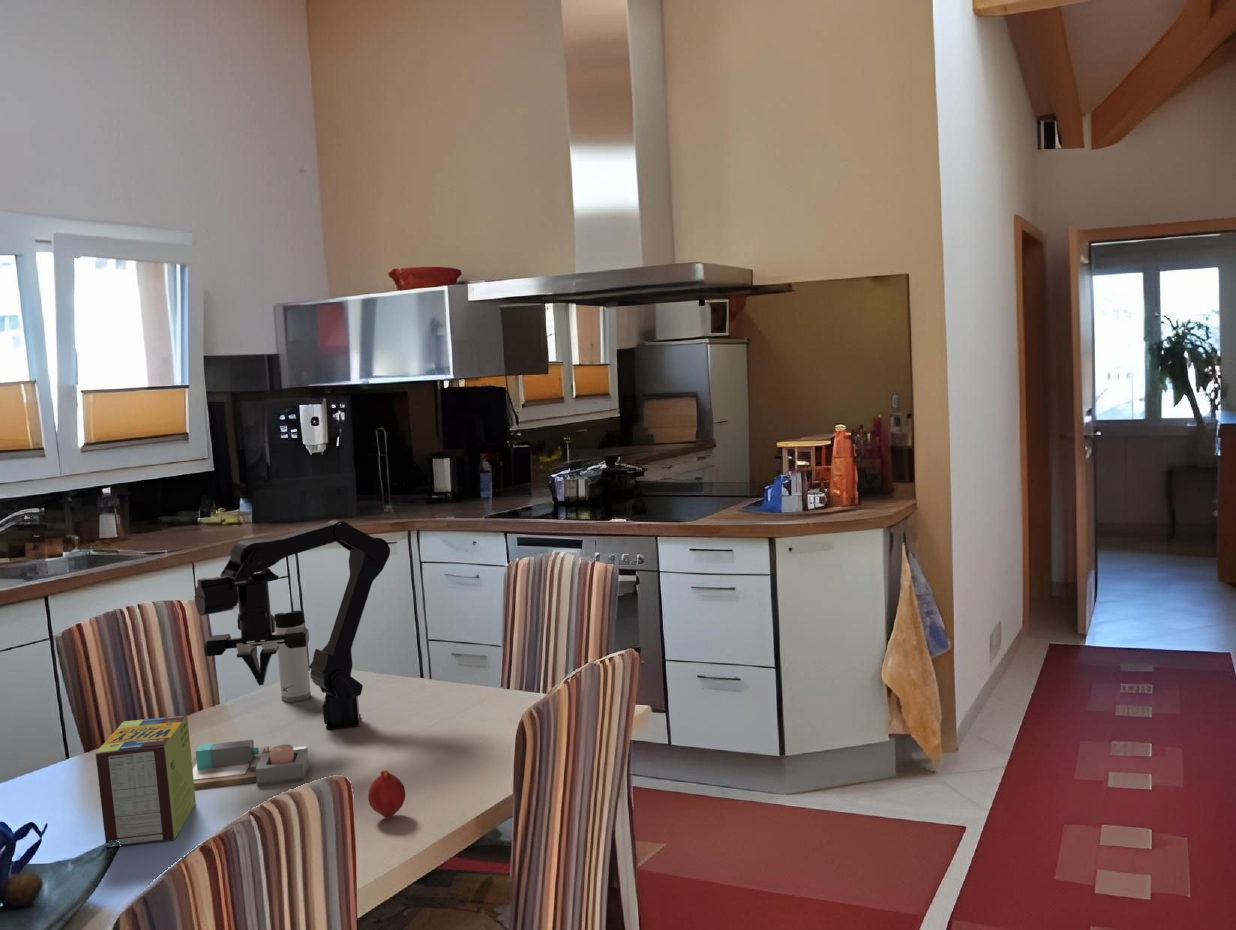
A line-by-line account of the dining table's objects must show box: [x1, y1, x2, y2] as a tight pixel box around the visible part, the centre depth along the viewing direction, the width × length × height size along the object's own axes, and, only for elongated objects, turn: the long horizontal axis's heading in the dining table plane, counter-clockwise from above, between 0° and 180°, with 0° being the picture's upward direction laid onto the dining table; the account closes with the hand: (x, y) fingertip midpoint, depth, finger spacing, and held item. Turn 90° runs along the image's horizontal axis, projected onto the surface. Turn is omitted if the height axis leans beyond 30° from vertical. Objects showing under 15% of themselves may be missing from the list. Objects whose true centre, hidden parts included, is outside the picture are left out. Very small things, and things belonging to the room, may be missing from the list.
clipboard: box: [192, 745, 270, 790], centre depth 198 cm, size 13×16×2 cm
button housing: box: [256, 748, 310, 787], centre depth 193 cm, size 8×8×3 cm
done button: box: [269, 744, 294, 765], centre depth 193 cm, size 4×4×4 cm
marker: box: [195, 739, 259, 770], centre depth 198 cm, size 10×4×4 cm, turn 100°
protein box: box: [95, 714, 196, 847], centre depth 174 cm, size 10×15×16 cm
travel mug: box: [273, 609, 312, 703], centre depth 239 cm, size 6×7×20 cm
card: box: [293, 745, 307, 750], centre depth 204 cm, size 6×5×1 cm
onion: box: [367, 769, 406, 819], centre depth 172 cm, size 6×6×8 cm
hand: (261, 684), depth 209 cm, fingers closed
